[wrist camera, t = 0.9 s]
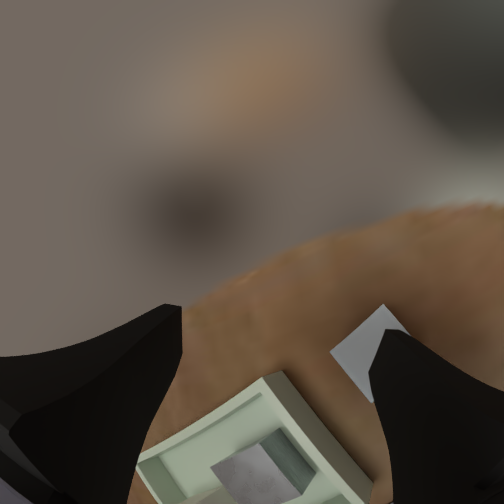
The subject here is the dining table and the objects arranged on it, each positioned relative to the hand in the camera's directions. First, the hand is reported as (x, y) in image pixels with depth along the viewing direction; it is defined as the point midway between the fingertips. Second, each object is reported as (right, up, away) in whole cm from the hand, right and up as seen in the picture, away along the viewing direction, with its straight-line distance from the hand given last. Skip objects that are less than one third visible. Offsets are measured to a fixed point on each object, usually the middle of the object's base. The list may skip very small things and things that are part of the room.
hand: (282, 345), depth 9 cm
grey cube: (+9, -4, +10) cm, 14 cm away
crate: (-2, -18, +11) cm, 21 cm away
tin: (+1, -15, +10) cm, 18 cm away
